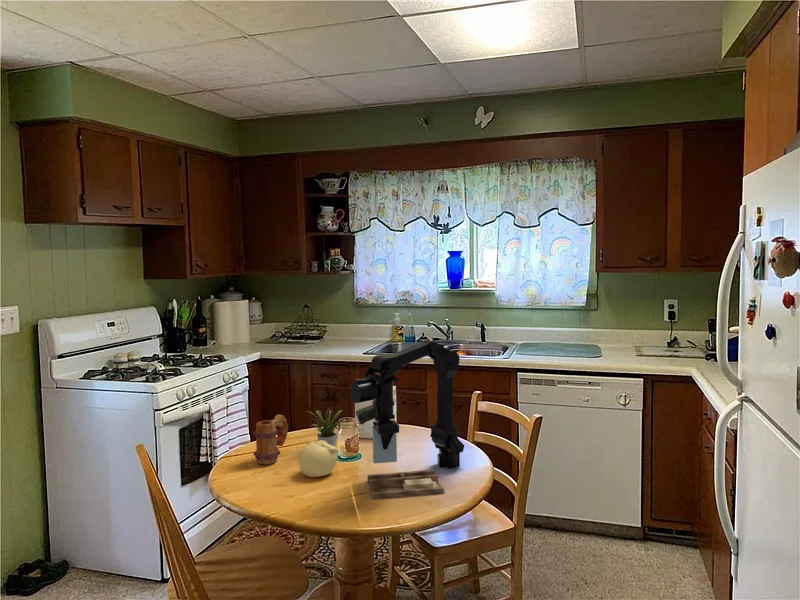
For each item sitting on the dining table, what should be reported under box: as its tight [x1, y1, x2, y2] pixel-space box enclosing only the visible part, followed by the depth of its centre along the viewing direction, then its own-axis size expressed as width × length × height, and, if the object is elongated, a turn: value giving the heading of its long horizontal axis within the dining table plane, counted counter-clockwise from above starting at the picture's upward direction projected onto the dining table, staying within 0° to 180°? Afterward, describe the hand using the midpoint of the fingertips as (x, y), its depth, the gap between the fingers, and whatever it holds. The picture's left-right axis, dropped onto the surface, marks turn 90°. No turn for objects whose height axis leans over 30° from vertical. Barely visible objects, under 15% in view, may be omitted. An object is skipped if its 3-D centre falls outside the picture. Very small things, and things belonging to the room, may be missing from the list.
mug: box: [252, 414, 289, 466], centre depth 211 cm, size 15×8×15 cm, turn 148°
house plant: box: [306, 406, 343, 447], centre depth 219 cm, size 14×14×16 cm
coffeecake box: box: [354, 385, 398, 440], centre depth 236 cm, size 15×7×20 cm, turn 77°
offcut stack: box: [403, 478, 439, 490], centre depth 182 cm, size 10×4×2 cm, turn 100°
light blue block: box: [372, 426, 398, 464], centre depth 185 cm, size 7×2×11 cm, turn 100°
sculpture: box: [298, 440, 339, 478], centre depth 198 cm, size 12×12×11 cm
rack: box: [364, 469, 446, 500], centre depth 184 cm, size 22×14×4 cm, turn 100°
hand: (384, 447), depth 185 cm, fingers closed on light blue block, 2 cm apart
